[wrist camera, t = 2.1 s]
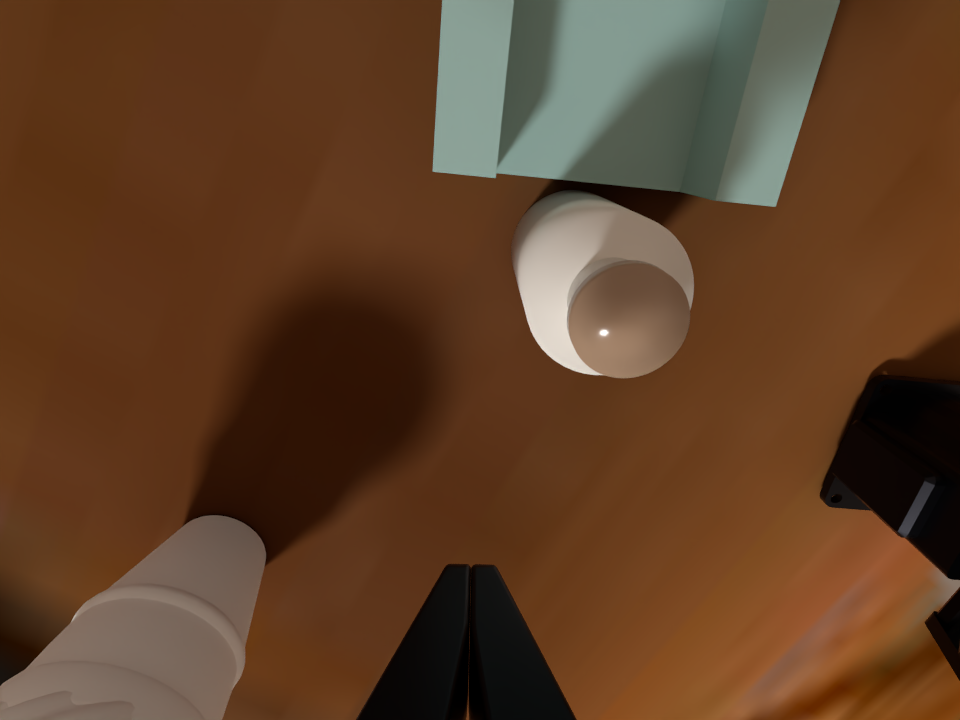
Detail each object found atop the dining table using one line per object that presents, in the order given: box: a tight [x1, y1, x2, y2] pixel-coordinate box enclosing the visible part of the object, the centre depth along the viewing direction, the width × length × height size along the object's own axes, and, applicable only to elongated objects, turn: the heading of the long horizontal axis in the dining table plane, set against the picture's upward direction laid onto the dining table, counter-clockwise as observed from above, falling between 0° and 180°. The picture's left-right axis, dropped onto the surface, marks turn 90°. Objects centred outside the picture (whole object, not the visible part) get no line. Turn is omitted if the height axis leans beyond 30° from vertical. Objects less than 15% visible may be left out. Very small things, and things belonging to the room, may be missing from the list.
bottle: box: [511, 190, 694, 378], centre depth 15 cm, size 4×4×8 cm
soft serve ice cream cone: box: [0, 515, 266, 720], centre depth 18 cm, size 8×8×16 cm
